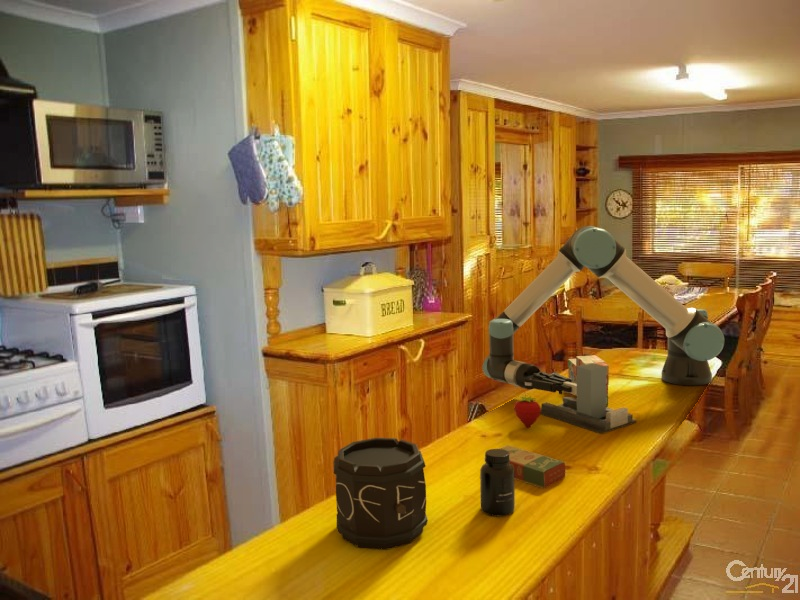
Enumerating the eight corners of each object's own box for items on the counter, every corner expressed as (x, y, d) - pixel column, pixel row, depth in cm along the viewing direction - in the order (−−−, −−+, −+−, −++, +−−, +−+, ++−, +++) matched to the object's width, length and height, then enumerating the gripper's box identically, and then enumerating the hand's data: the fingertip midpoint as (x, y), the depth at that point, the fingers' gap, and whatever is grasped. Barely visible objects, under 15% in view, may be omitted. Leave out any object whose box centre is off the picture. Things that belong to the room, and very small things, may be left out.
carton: (508, 461, 170) (508, 443, 170) (566, 478, 159) (566, 460, 158) (486, 471, 165) (485, 453, 164) (544, 490, 153) (544, 471, 152)
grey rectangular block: (591, 411, 200) (591, 363, 198) (605, 416, 196) (606, 366, 194) (576, 416, 197) (576, 366, 195) (590, 420, 193) (590, 370, 191)
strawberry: (532, 433, 187) (532, 396, 185) (509, 427, 192) (508, 391, 191) (545, 428, 191) (545, 391, 189) (523, 422, 196) (522, 386, 195)
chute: (571, 403, 212) (571, 388, 211) (636, 422, 193) (636, 405, 192) (537, 413, 204) (537, 397, 203) (601, 433, 185) (601, 416, 184)
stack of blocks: (568, 387, 229) (567, 349, 227) (587, 386, 229) (587, 348, 228) (587, 406, 208) (587, 365, 206) (608, 405, 208) (609, 364, 206)
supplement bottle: (506, 520, 139) (505, 461, 138) (475, 513, 143) (473, 455, 141) (520, 506, 145) (519, 449, 143) (489, 499, 149) (488, 444, 147)
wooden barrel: (354, 563, 126) (350, 478, 123) (323, 521, 142) (319, 446, 139) (446, 539, 133) (443, 458, 130) (406, 503, 149) (403, 430, 146)
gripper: (539, 383, 221) (599, 399, 202) (507, 391, 214) (566, 409, 194) (538, 359, 220) (599, 373, 200) (506, 366, 213) (566, 382, 193)
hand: (582, 391), depth 197 cm, fingers closed
